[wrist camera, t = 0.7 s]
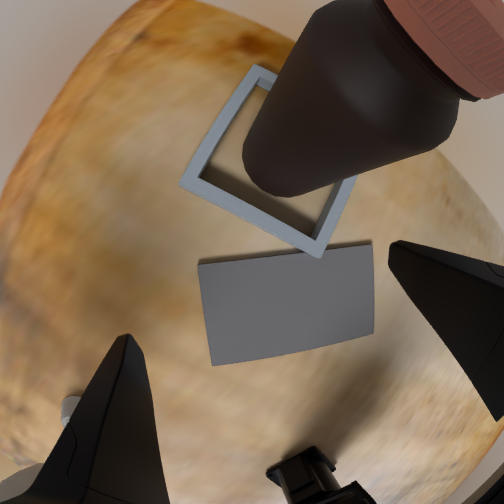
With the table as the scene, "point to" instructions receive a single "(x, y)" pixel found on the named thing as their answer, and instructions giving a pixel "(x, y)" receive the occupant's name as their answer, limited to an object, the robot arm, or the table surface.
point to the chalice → (27, 476)
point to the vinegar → (372, 88)
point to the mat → (286, 303)
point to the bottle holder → (244, 210)
